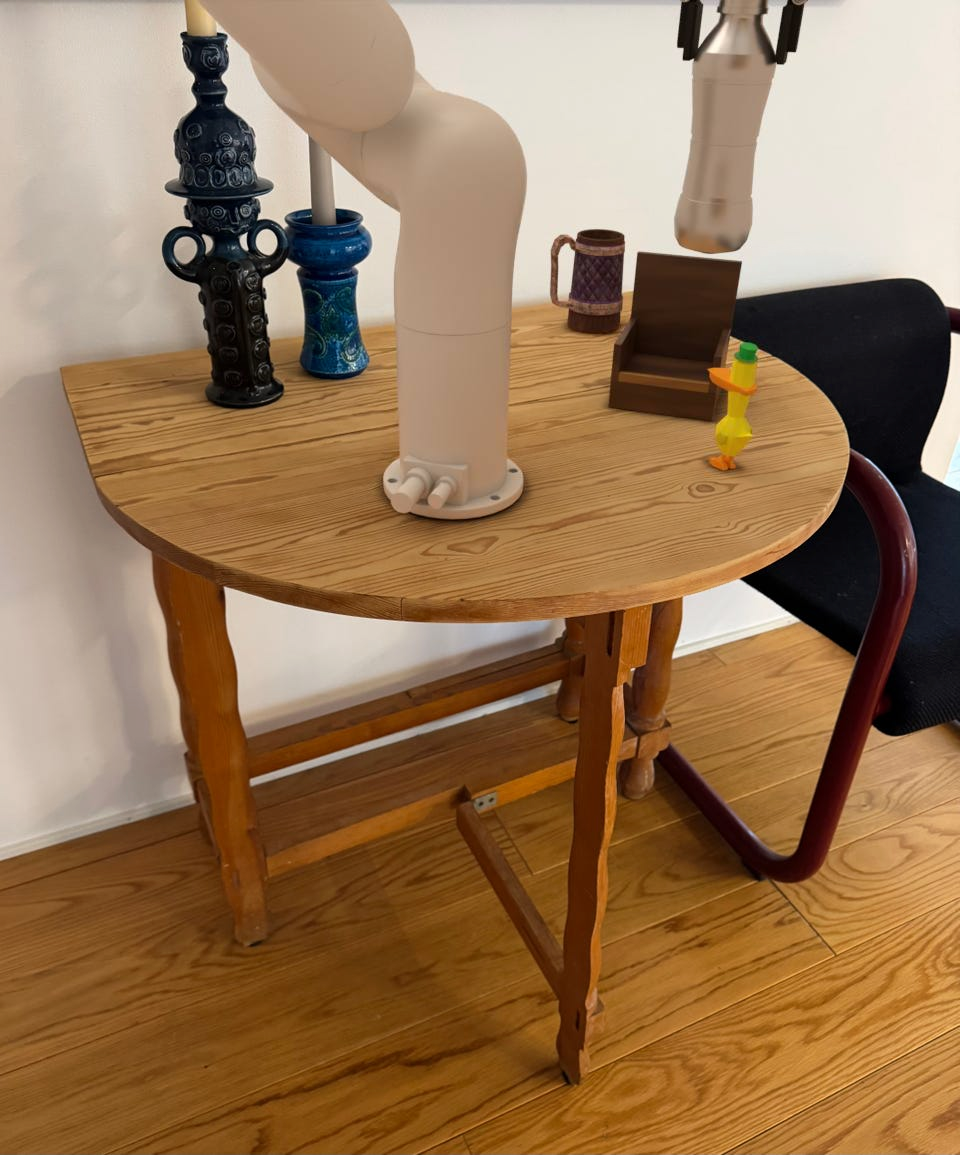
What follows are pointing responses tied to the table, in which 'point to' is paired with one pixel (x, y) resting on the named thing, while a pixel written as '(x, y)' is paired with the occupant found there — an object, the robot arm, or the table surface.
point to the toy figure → (735, 404)
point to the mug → (592, 280)
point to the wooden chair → (675, 335)
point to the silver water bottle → (725, 129)
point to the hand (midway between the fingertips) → (734, 59)
